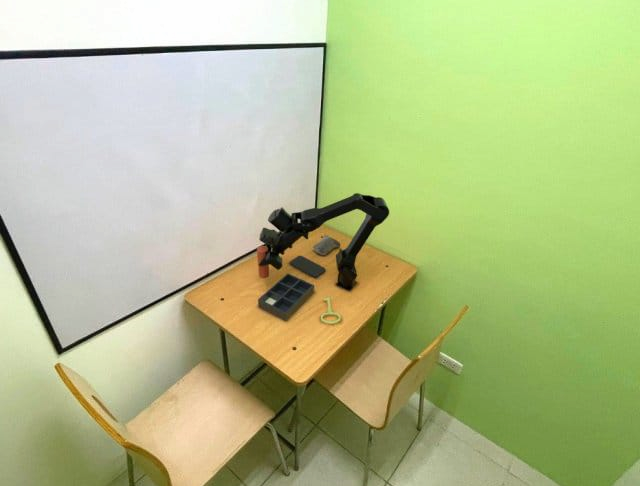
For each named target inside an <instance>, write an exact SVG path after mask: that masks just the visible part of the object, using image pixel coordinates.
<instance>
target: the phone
mask: <svg viewBox="0 0 640 486" xmlns="http://www.w3.org/2000/svg"><path fill="white" fill-rule="evenodd" d="M289 265H290V266H291V267H294V268H295V269H297V270H300V271H301V272H303V273H305V274H307V275H309V276H310V277H312V278H315V279H316V278H319V276H321V275H322V274H324V273H325V272H326V268H325V267H323V266H321V265H320V264H318V263H316V262H314V261H312V260H310V259H308V258H307V257H304V256H303V255H298V256H296V257H294V258H293V259H292V260H290V261H289Z"/></svg>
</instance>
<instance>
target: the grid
mask: <svg viewBox="0 0 640 486" xmlns="http://www.w3.org/2000/svg"><path fill="white" fill-rule="evenodd" d="M314 293H315V284H312V283H311V282H309V281H306V280H304V279H302V278H299V277H297V276H295V275H292V274H290V273H289V272H287V273H286V274H285V275H284V276H282V277H281V278H280V279H279V280H278V281H277V282H276V283H275V284H273V285H272V286H271V287H270V288H269V289H267V290H266V292H264V293H263V294H262V295H261V296H260V297H259V298H258V299H257V305H258V308H259V309H261V310H263V311H265V312H267V313H269V314H270V315H273V316H274V317H277V318H278V319H281V320H283V321H285V322H287V321H288V320H289V319H290V318H291V317H292V316H293V315H294V314H295V312H297V311H298V309H300V308H301V306H302V305H303V304H304V303H306V302H307V300H308V299H309V298H311V296H312V295H313V294H314Z"/></svg>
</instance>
